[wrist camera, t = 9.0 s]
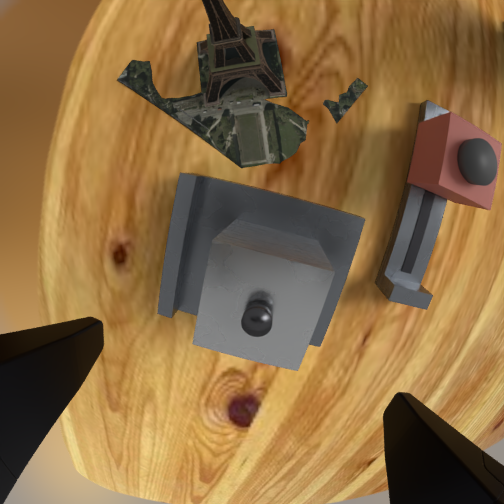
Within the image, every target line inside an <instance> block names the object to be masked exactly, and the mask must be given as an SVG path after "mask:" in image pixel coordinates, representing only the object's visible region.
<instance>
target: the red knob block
mask: <svg viewBox="0 0 504 504" xmlns="http://www.w3.org/2000/svg"><path fill="white" fill-rule="evenodd" d="M501 145H502V144H501V143H500V142H499V141H497V140H496V139H494V138H493V137H491V136H490V135H488V134H487V133H485V132H484V131H482V130H481V129H479V128H478V127H476V126H475V125H473V124H471V123H470V122H468V121H466V120H465V119H463V118H461V117H460V116H458V115H456V114H454V113H452V112H448V113H446V114H443V115H440V116H437V117H434V118H431V119H428V120H426V121H423V122H420V123H419V126H418V131H417V137H416V142H415V147H414V152H413V157H412V162H411V166H410V171H409V175H408V179H407V182H408V183H410V184H413V185H415V186H418V187H420V188H423V189H425V190H427V191H430V192H432V193H434V194H437V195H439V196H441V197H443V198H446V199H448V200H450V201H452V202H454V203H459V204H464V205H468V206H473V207H478V208H482V209H486V210H491V205H492V201H493V196H494V191H495V186H496V181H497V175H498V168H499V162H500V154H501Z"/></svg>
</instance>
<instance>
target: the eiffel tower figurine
mask: <svg viewBox="0 0 504 504" xmlns="http://www.w3.org/2000/svg"><path fill="white" fill-rule="evenodd" d="M202 2H203V4H204V7H205V10H206V13H207V15H208V18H209V21H210V24H209V30H210V34H207V40H205V41H201V42H197V51H198V61H199V71H200V81H201V91H202V92H201V93H198V94H195V95H193V96H186V97H181V98H167V99H164V98H161V96H160V95H159V93H158V92H157V90H156V88H155V86H154V84H153V81H152V70H151V65H150V61H145V62H143V61H136V60H132V61H131V62H130V63H129V65H128V66H127V67H126V69H125V70H124V71H123V73H122V74H121V75H120V77H119V78H118V79H117V80H118V81H119V82H121V83H122V84H124V85H126V86H127V87H129V88H130V89H132V90H133V91H135V92H136V93H138V94H139V95H141V96H142V97H144V98H145V99H147V100H148V101H149V102H151V103H152V104H154V105H155V106H157V107H158V108H160V109H161V110H163V111H164V112H166V113H167V114H169V115H170V116H172V117H173V118H174V119H176V120H177V121H179V122H180V123H182V124H183V125H184V126H186V127H187V128H189V129H190V130H191V131H193V132H194V133H196V134H197V135H198V136H200V137H201V138H202V139H204V140H205V141H206V142H208V143H209V144H210V145H212V146H213V147H214V148H216V149H217V150H218V151H220V152H221V153H222V154H224V155H225V156H226V157H228V158H229V159H230V160H231V161H233V162H234V163H235V164H237V165H238V166H239V167H240V168H245V167H253V166H258V165H263V164H271V163H281V162H282V161H283V160H285V159H287V158H289V157H291V156H292V155H293V154H295V153H296V152H297V150H298V148H299V146H300V143H302V142H303V141H305V140H306V131H307V124H308V123H309V120H308V121H306V120H304V119H303V118H302V117H300V116H299V115H298V114H296V113H295V112H293V111H292V110H291V109H289V108H287V107H284V106H281V105H277V104H274V103H271V102H269V101H266V100H264V99H269V98H278V97H287V91H286V86H285V80H284V75H283V70H282V64H281V59H280V54H279V49H278V45H277V40H276V35H275V30H274V29H272V30H263V31H259V30H254V26H250V27H245V26H243V25H242V24H241V23H240V20H239V18H237V17H235V18H234V17H233V15H232V14H231V13H230V11H229V9H228V8H227V6H226V5H225V3H224V1H223V0H202ZM367 87H368V86H367V85H366V84H365V83H364V82H362V81H361V80H360V79H359V78H357V79H356V80H355V81H354V82H353V83H352V84H351V85H350V86H349V88H348V91H347V92H346V93H343V94H341V95H339V103H338V102H334V101H330V100H325V101H324V103H323V105H325V106H326V107H327V108H328V109H329V111H330V113H331V114H332V116H333V118H334V120H335V121H336V123H338V122H339V120H340V119H341V118H342V117H343V116H344V114H345V113H346V112H347V111H348V109H349V108H350V107H351V106H352V104H353V103H354V102H355V101H356V100H357V98H358V97H359V96H360V95H361V94H362V92H363V91H364V90H365V89H366V88H367Z"/></svg>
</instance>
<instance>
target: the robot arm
mask: <svg viewBox="0 0 504 504" xmlns="http://www.w3.org/2000/svg"><path fill="white" fill-rule="evenodd" d="M103 346H104V334H103V323H102V321H100V320H98V319H96V318H93V317H86V318H81V319H76V320H71V321H67V322H62V323H57V324H52V325H47V326H42V327H37V328H32V329H27V330H21V331H16V332H12V333H6V334H0V504H3V503H4V502H5V500H6V498H7V496H8V495H9V493H10V491H11V490H12V488H13V486H14V484H15V483H16V481H17V479H18V478H19V476H20V475H21V473H22V472H23V470H24V468H25V466H26V465H27V464H28V462H29V460H30V459H31V458H32V456H33V454H34V453H35V451H36V450H37V448H38V447H39V445H40V444H41V442H42V441H43V439H44V438H45V436H46V435H47V434H48V432H49V431H50V429H51V427H52V426H53V425H54V423H55V422H56V421H57V419H58V418H59V416H60V415H61V414H62V412H63V411H64V409H65V408H66V407H67V405H68V404H69V402H70V401H71V400H72V398H73V397H74V396H75V394H76V393H77V391H78V390H79V389H80V387H81V386H82V384H83V382H84V381H85V379H86V377H87V375H88V374H89V372H90V370H91V369H92V367H93V365H94V363H95V362H96V360H97V358H98V357H99V355H100V353H101V352H102V349H103ZM383 426H384V451H385V463H386V471H387V479H388V488H389V498H390V504H504V466H503V465H502V464H500V463H499V462H498V461H496V460H495V459H493V458H492V457H491V456H489V455H488V454H487V453H485V452H484V451H482V450H481V449H480V448H479V447H478V446H476V445H475V444H474V443H472V442H471V441H470V440H469V439H467V438H466V437H465V436H463V435H462V434H461V433H460V432H458V431H457V430H456V429H454V428H453V427H452V426H451V425H449V424H448V423H447V422H445V421H444V420H443V419H442V418H440V417H439V416H438V415H437V414H435V413H434V412H433V411H431V410H430V409H429V408H428V407H426V406H425V405H424V404H423V403H421V402H420V401H419V400H418V399H416V398H415V397H414V396H413V395H411V394H410V393H405V392H398V393H397V394H395V396H394V397H393V399H392V400H391V402H390V403H389V405H388V406H387V408H386V409H385V411H384V414H383Z"/></svg>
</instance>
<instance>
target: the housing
mask: <svg viewBox="0 0 504 504" xmlns="http://www.w3.org/2000/svg"><path fill="white" fill-rule="evenodd" d="M334 274H335V271H334V269H333V267H332V265H331V264H330V262H329V260H328V258H327V256H326V255H325V253H324V251H323V249H322V247H321V246H320V244H319V242H318V241H317V240H314V239H310V238H306V237H303V236H299V235H295V234H292V233H288V232H284V231H280V230H276V229H273V228H269V227H265V226H261V225H257V224H253V223H249V222H245V221H241V220H237V219H236V220H234V221H233V222H232V223H231V224H230V225H229V226H228V227H226V228H225V229H224V230H223V231H222V232H221V233H220V234H219V235H217V236H216V237H215V238H214V239H213V240H212V244H211V249H210V253H209V258H208V263H207V268H206V273H205V278H204V283H203V289H202V294H201V299H200V305H199V310H198V315H197V321H196V327H195V332H194V338H193V344H194V345H197V346H201V347H204V348H207V349H211V350H214V351H218V352H221V353H225V354H229V355H232V356H236V357H240V358H244V359H248V360H252V361H256V362H260V363H264V364H268V365H273V366H277V367H282V368H286V369H291V370H296V371H298V369H299V367H300V364H301V362H302V360H303V357H304V355H305V352H306V350H307V347H308V345H309V342H310V340H311V337H312V335H313V332H314V330H315V327H316V324H317V322H318V319H319V316H320V314H321V311H322V308H323V306H324V303H325V300H326V297H327V294H328V292H329V289H330V286H331V283H332V280H333V277H334Z"/></svg>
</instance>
